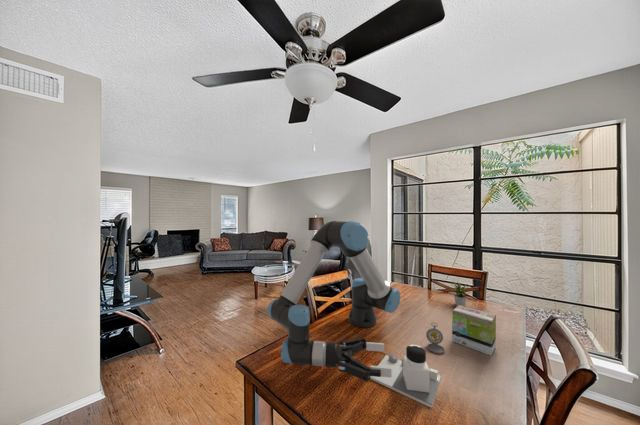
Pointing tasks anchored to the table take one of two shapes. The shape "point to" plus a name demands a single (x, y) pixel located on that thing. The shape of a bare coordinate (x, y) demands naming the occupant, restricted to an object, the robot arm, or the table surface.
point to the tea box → (474, 329)
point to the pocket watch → (435, 340)
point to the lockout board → (399, 384)
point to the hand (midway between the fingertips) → (387, 358)
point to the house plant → (459, 294)
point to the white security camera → (416, 369)
